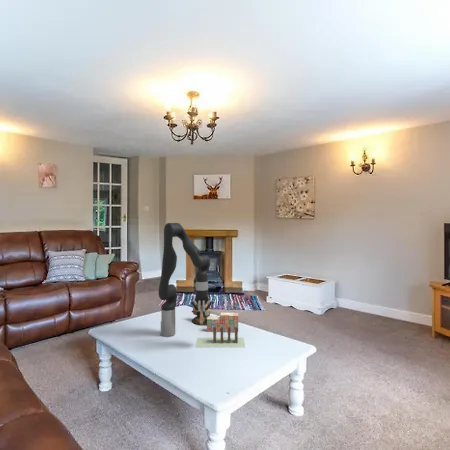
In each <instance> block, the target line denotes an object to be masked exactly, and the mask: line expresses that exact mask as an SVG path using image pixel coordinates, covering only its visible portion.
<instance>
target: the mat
mask: <svg viewBox="0 0 450 450" xmlns="http://www.w3.org/2000/svg"><path fill="white" fill-rule="evenodd" d="M244 338H245V337H238V343H235V337H230V343H228V337H223V343H221V337H216V343H213V337H197V338H196V341H195V342H196V343H195V347H194V348H195V349H199V348H200V349H204V348H205V349H209V348H211V349H212V348H213V349H216V348H219V349H222V348H225V349H226V348H227V349H229V348H230V349H232V348H235V349H237V348H240V349H241V348H242V349H243V348H244V349H245V348H246V345H245V339H244Z"/></svg>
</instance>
